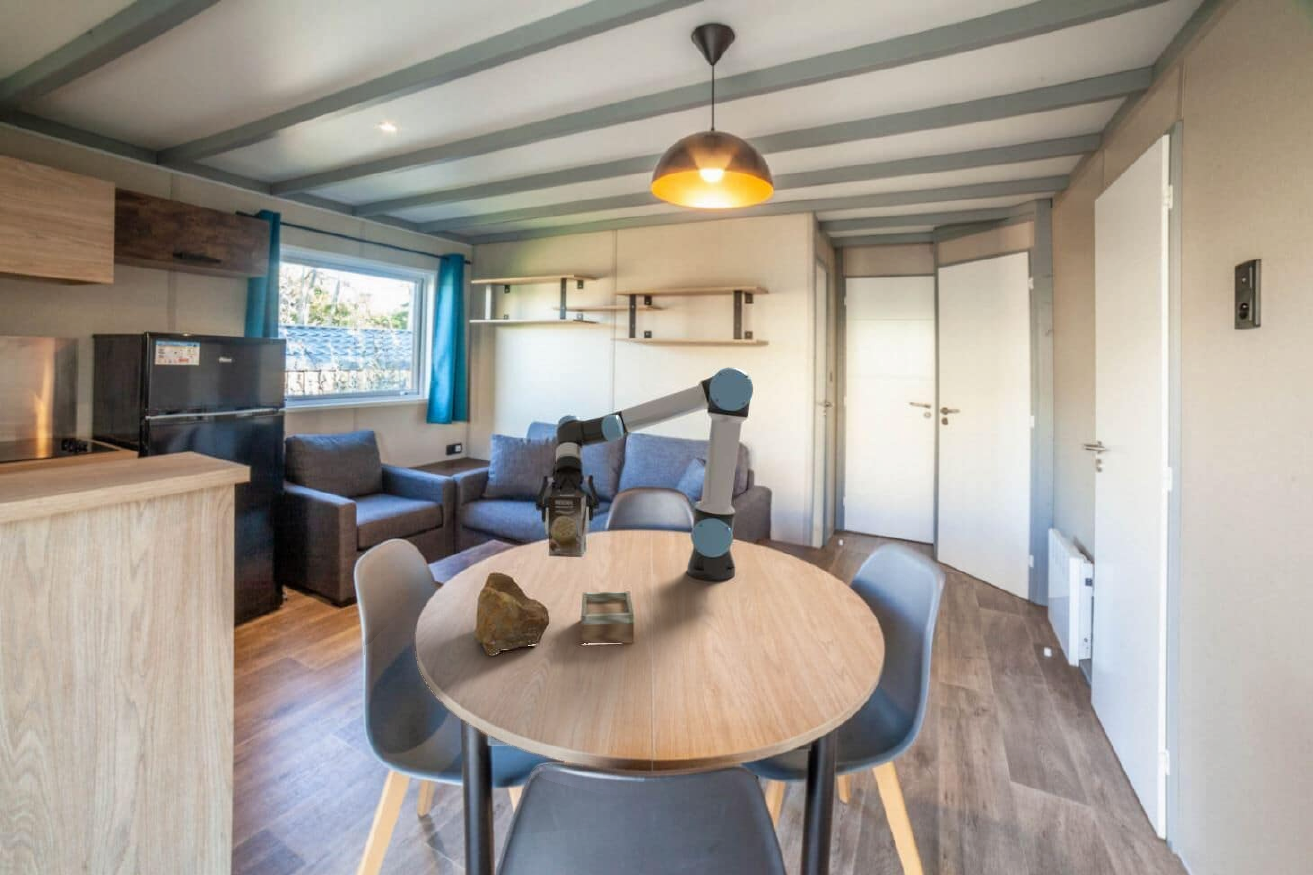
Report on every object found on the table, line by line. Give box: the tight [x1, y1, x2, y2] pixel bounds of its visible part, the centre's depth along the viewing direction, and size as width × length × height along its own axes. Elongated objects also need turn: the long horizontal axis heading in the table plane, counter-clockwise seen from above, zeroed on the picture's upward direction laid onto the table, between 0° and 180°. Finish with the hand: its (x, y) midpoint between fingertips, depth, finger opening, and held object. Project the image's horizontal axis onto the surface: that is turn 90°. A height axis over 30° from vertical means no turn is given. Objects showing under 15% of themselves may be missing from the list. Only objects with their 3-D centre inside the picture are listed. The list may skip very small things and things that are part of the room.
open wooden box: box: [580, 590, 635, 644], centre depth 140 cm, size 12×15×7 cm
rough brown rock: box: [474, 571, 550, 655], centre depth 133 cm, size 23×17×15 cm
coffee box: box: [547, 491, 587, 558], centre depth 152 cm, size 9×6×16 cm
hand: (567, 531), depth 150 cm, fingers closed on coffee box, 10 cm apart
